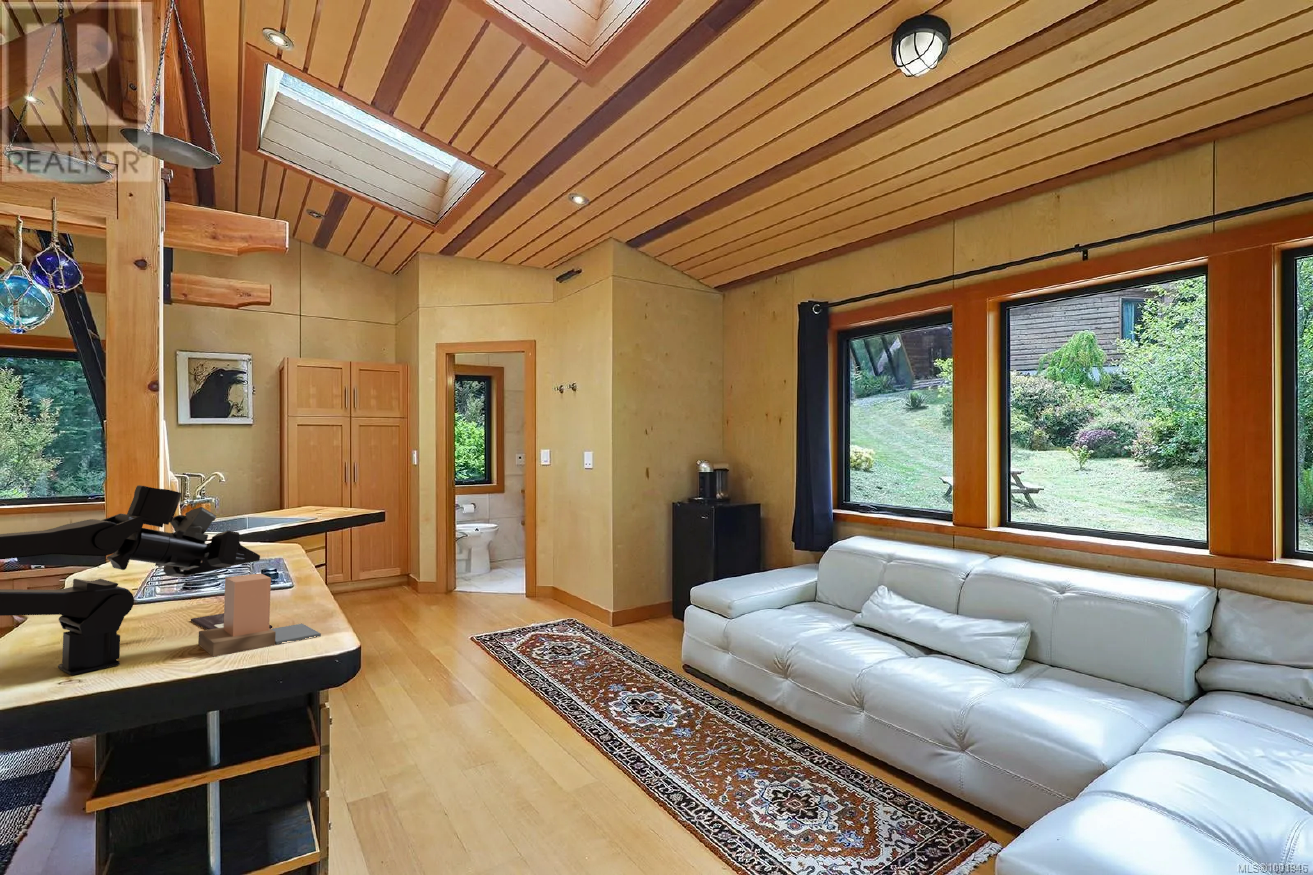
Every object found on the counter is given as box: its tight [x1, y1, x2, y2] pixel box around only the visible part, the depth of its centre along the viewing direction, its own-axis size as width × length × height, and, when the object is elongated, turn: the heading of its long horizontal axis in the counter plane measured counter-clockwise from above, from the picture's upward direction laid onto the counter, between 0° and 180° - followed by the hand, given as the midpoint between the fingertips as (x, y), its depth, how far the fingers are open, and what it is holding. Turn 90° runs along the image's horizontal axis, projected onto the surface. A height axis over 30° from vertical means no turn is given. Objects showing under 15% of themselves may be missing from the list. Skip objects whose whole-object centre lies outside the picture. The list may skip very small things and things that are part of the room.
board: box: [197, 627, 276, 657], centre depth 122 cm, size 10×10×2 cm
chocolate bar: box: [190, 612, 273, 630], centre depth 135 cm, size 9×1×18 cm
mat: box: [272, 623, 322, 645], centre depth 129 cm, size 8×10×1 cm
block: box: [223, 573, 272, 636], centre depth 123 cm, size 6×6×10 cm
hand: (245, 561), depth 130 cm, fingers open, 9 cm apart
